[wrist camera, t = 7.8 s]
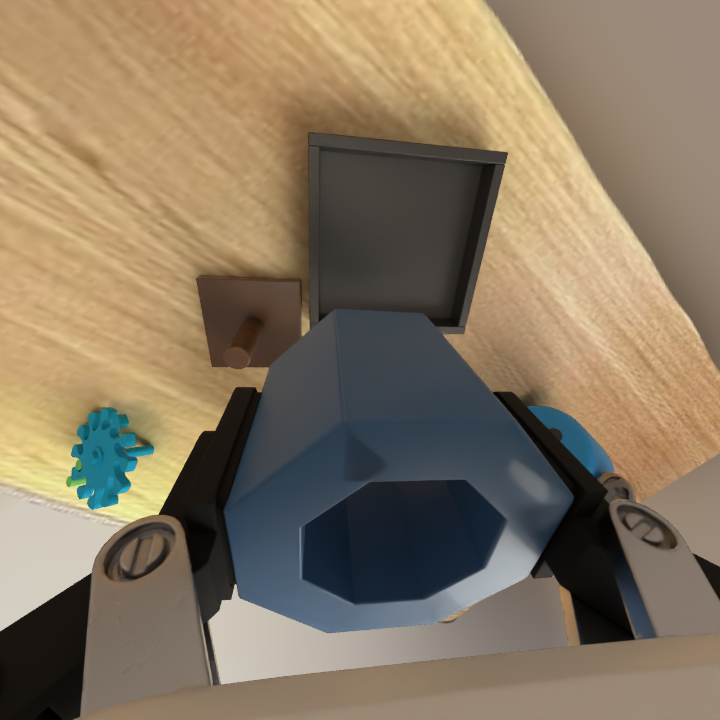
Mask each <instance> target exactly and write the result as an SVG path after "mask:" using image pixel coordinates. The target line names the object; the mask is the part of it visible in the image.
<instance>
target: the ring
mask: <svg viewBox="0 0 720 720" xmlns="http://www.w3.org/2000/svg"><path fill="white" fill-rule="evenodd" d="M573 499H574V497H573V494H572V493H571V491H570V490H569V489H568V488H567V486H566V485H565V484H564V482H563V481H562V480H561V478H560V477H559V476H558V474H557V473H556V472H555V470H554V469H553V468H552V466H551V465H550V464H549V462H548V461H547V460H546V459H545V457H544V456H543V455H542V453H541V452H540V451H539V449H538V448H537V447H536V445H535V444H534V443H533V441H532V440H531V439H530V437H529V436H528V435H527V433H526V432H525V431H524V429H523V428H522V427H521V426H520V424H519V423H518V422H517V420H516V419H515V418H514V417H513V416H512V415H511V413H510V412H509V411H508V410H507V409H506V408H505V406H504V405H503V404H502V403H501V402H500V401H499V399H498V398H497V397H496V396H495V395H494V394H493V393H492V391H491V390H490V389H489V388H488V387H487V386H486V384H485V383H484V382H483V381H482V380H481V379H480V377H479V376H478V375H477V374H476V373H475V372H474V371H473V369H472V368H471V367H470V366H469V365H468V364H467V362H466V361H465V360H464V359H463V358H462V357H461V356H460V354H459V353H458V352H457V351H456V350H455V349H454V347H453V346H452V345H451V344H450V343H449V342H448V340H447V339H446V338H445V337H444V336H443V335H442V334H441V332H440V331H439V330H438V329H437V328H436V327H435V325H434V324H433V323H432V322H431V321H430V320H429V318H428V317H427V316H426V315H424V314H423V313H411V312H391V311H371V310H351V309H335V310H333V311H332V312H330V313H329V314H328V315H327V316H326V317H325V318H324V319H322V320H321V321H320V322H319V323H318V324H317V325H315V326H314V327H313V328H312V329H311V330H310V331H309V332H307V333H306V334H305V335H304V336H303V337H302V338H300V339H299V340H298V341H297V342H296V343H295V344H294V345H292V346H291V347H290V348H289V349H288V350H287V351H285V352H284V353H283V354H282V355H281V356H280V357H279V358H277V359H276V360H275V361H274V362H273V363H272V364H271V365H270V368H269V371H268V374H267V377H266V380H265V383H264V386H263V390H262V395H261V398H260V401H259V404H258V407H257V410H256V413H255V416H254V420H253V423H252V426H251V429H250V432H249V435H248V438H247V442H246V445H245V448H244V451H243V454H242V457H241V460H240V464H239V467H238V470H237V473H236V476H235V479H234V482H233V486H232V489H231V492H230V495H229V498H228V500H227V502H226V505H225V508H224V511H223V513H224V518H225V524H226V529H227V535H228V540H229V546H230V551H231V557H232V562H233V568H234V574H235V579H236V585H237V589H238V595H239V597H240V598H241V599H243V600H246V601H248V602H251V603H254V604H256V605H258V606H261V607H263V608H266V609H268V610H271V611H273V612H276V613H278V614H281V615H283V616H286V617H288V618H291V619H293V620H296V621H298V622H301V623H303V624H306V625H309V626H311V627H313V628H316V629H318V630H321V631H323V632H326V633H336V632H347V631H358V630H370V629H382V628H393V627H404V626H415V625H426V624H434V623H436V622H438V621H440V620H442V619H444V618H446V617H448V616H450V615H452V614H454V613H456V612H458V611H460V610H462V609H464V608H466V607H468V606H470V605H472V604H474V603H476V602H478V601H480V600H482V599H485V598H487V597H488V596H491V595H492V594H494V593H497V592H498V591H500V590H502V589H505V588H507V587H509V586H511V585H513V584H515V583H517V582H519V581H521V580H523V579H524V578H526V577H527V576H528V575H529V574H530V572H531V571H532V569H533V567H534V566H535V564H536V562H537V561H538V559H539V557H540V556H541V554H542V552H543V551H544V549H545V547H546V546H547V544H548V542H549V541H550V539H551V537H552V536H553V534H554V532H555V531H556V529H557V527H558V526H559V524H560V522H561V521H562V519H563V517H564V516H565V514H566V512H567V511H568V509H569V508H570V506H571V504H572V503H573Z"/></svg>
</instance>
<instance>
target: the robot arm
mask: <svg viewBox="0 0 720 720" xmlns="http://www.w3.org/2000/svg"><path fill="white" fill-rule="evenodd" d="M493 394H494V395H495V396H496V397H497V398H498V399H499V401H500V402H501V403H502V404H503V405H504V406H505V408H506V409H507V410H508V411H509V412H510V413H511V415H512V416H513V417H514V418H515V419H516V420H517V422H518V423H519V424H520V426H521V427H522V428H523V429H524V431H525V432H526V433H527V435H528V436H529V437H530V439H531V440H532V441H533V443H534V444H535V445H536V447H537V448H538V449H539V451H540V452H541V453H542V455H543V456H544V457H545V459H546V460H547V461H548V462H549V464H550V465H551V466H552V468H553V469H554V470H555V472H556V473H557V474H558V476H559V477H560V478H561V480H562V481H563V482H564V484H565V485H566V486H567V488H568V489H569V490H570V491H571V493H572V494H573V497H574V499H573V503H572V504H571V506H570V508H569V509H568V511H567V512H566V514H565V516H564V517H563V519H562V521H561V522H560V524H559V526H558V527H557V529H556V531H555V532H554V534H553V536H552V537H551V539H550V541H549V542H548V544H547V546H546V547H545V549H544V551H543V552H542V554H541V556H540V557H539V559H538V561H537V562H536V564H535V566H534V567H533V569H532V571H531V572H530V573H531V575H532V577H533V578H548V577H552V576H553V574H554V576H555V577H556V579H557V581H558V582H559V591H560V596H561V602H562V608H563V614H564V620H565V626H566V631H567V638H568V644H569V646H568V647H558V648H548V649H539V650H528V651H518V652H509V653H499V654H489V655H479V656H470V657H461V658H451V659H441V660H431V661H421V662H412V663H403V664H394V665H385V666H375V667H366V668H357V669H348V670H339V671H330V672H321V673H311V674H302V675H292V676H284V677H276V678H268V679H260V680H253V681H245V682H237V683H230V684H222V685H221V682H220V677H219V672H218V667H217V661H216V656H215V651H214V645H213V640H212V635H211V630H210V625H209V619H211V618H212V617H213V616H214V615H215V614H216V613H217V612H218V611H219V609H220V605H221V601H222V600H231V598H232V593H233V589H234V585H235V584H236V579H235V574H234V568H233V562H232V557H231V551H230V546H229V540H228V535H227V529H226V524H225V518H224V513H223V511H224V508H225V505H226V502H227V500H228V498H229V495H230V492H231V489H232V486H233V482H234V479H235V476H236V473H237V470H238V467H239V464H240V460H241V457H242V454H243V451H244V448H245V445H246V442H247V438H248V435H249V432H250V429H251V426H252V423H253V420H254V416H255V413H256V410H257V407H258V404H259V401H260V398H261V395H262V392H257V390H256V388H254V387H236V388H235V390H234V392H233V394H232V396H231V399H230V401H229V403H228V405H227V407H226V409H225V411H224V413H223V416H222V418H221V420H220V422H219V424H218V426H217V428H216V431H204V432H202V434H201V435H200V436H199V438H198V440H197V442H196V444H195V446H194V448H193V450H192V452H191V454H190V455H189V457H188V459H187V461H186V463H185V465H184V467H183V469H182V471H181V473H180V475H179V476H178V478H177V480H176V482H175V484H174V486H173V488H172V490H171V492H170V494H169V496H168V497H167V499H166V501H165V503H164V505H163V507H162V509H161V511H160V513H159V515H152V516H148V517H145V518H141V519H138V520H136V521H134V522H132V523H130V524H128V525H126V526H125V527H123V528H122V529H121V530H119V531H118V532H117V533H115V534H114V535H113V536H112V537H111V538H110V539H109V540H108V541H107V542H106V543H105V544H104V545H103V547H102V548H101V550H100V551H99V553H98V555H97V556H96V558H95V562H94V565H93V569H92V573H91V574H89V575H88V576H86V577H84V578H83V579H81V580H80V581H78V582H77V583H75V584H74V585H72V586H70V587H69V588H67V589H66V590H64V591H63V592H61V593H60V594H58V595H56V596H55V597H54V598H52V599H50V600H49V601H47V602H46V603H44V604H42V605H41V606H39V607H38V608H36V609H35V610H33V611H31V612H30V613H28V614H27V615H25V616H24V617H22V618H21V619H19V620H17V621H16V622H14V623H13V624H11V625H10V626H8V627H7V628H5V629H4V630H2V631H0V720H720V567H719V566H717V565H715V564H713V563H711V562H709V561H707V560H705V559H703V558H701V557H699V556H697V555H695V554H693V553H692V552H691V550H690V549H689V547H688V545H687V543H686V542H685V540H684V538H683V537H682V536H681V534H680V533H679V531H678V530H677V529H676V528H675V527H674V526H673V525H672V524H671V523H670V522H669V521H668V520H666V519H665V518H664V517H662V516H661V515H660V514H658V513H657V512H655V511H653V510H652V509H650V508H648V507H646V506H644V505H642V504H640V503H637V502H635V501H631V500H626V499H616V500H614V501H612V502H611V503H610V504H609V503H608V502H607V501H606V500H605V496H606V495H607V493H608V492H609V491H608V490H607V489H606V488H605V487H604V486H603V485H602V484H601V483H600V482H599V481H598V480H597V479H596V478H595V477H594V476H593V475H592V474H591V473H590V472H589V470H588V469H587V468H586V467H585V466H584V465H583V464H582V463H581V462H580V461H579V460H578V459H577V458H576V457H575V456H574V455H573V454H572V453H571V452H570V451H569V450H568V449H567V448H566V447H565V446H564V445H563V444H562V443H561V442H560V441H559V439H558V438H557V437H556V436H555V435H554V434H553V433H552V432H551V431H550V430H549V429H548V428H547V427H546V426H545V425H544V424H543V423H542V422H541V421H540V420H539V419H538V418H537V417H536V416H535V415H534V414H533V413H532V412H531V411H530V410H529V409H528V407H527V406H526V405H525V404H524V403H523V402H522V401H521V400H520V399H519V398H518V397H517V396H516V395H515V394H514V393H512V392H493Z"/></svg>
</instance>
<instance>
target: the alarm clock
mask: <svg viewBox="0 0 720 720" xmlns="http://www.w3.org/2000/svg"><path fill="white" fill-rule="evenodd" d="M527 407H528V409H529V410H530V411H531V412H532V413H533V414H534V415H535V416H536V417H537V418H538V419H539V420H540V421H541V422H542V423H543V424H544V425H545V426H546V427H547V428H548V429H549V430H550V431H551V432H552V433H553V434H554V435H555V436H556V437H557V438H558V439H559V441H560V442H561V443H562V444H563V445H564V446H565V447H566V448H567V449H568V450H569V451H570V452H571V453H572V454H573V455H574V456H575V457H576V458H577V459H578V460H579V461H580V462H581V463H582V464H583V465H584V466H585V467H586V468H587V469H588V470H589V472H590V473H591V474H592V475H593V476H594V477H595V478H596V479H597V480H598V481H599V482H600V483H601V484H602V485H603V486H604V487H605V488H606V489H607V490H608V491H609V492H608V493H607V495H606V496H605V500H606V501H607V502H608V503H609V504H610V503H611V502H612V501H614V500H616V499H626V500H631V501H635V502H636V496H635V492H634V490H633V488H632V486H631V485H630V483H629V482H628V481H627V480H626V479H625V478H623V477H622V476H621V475H619V474H617V473H615V471H614V468H613V465H612V462H611V460H610V458H609V456H608V455H607V453H606V452H605V451H604V449H603V448H602V447H601V446H600V445H599V444H598V443H597V442H596V440H595V439H594V438H593V437H592V436H591V435H590V434H589V433H588V432H587V431H586V430H585V429H584V428H583V427H582V426H581V425H580V424H579V423H578V422H577V421H576V420H575V419H574V418H572V417H571V416H569V415H568V414H566V413H564V412H562V411H560V410H557V409H554V408H551V407H546V406H527Z"/></svg>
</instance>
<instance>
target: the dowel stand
mask: <svg viewBox="0 0 720 720" xmlns="http://www.w3.org/2000/svg"><path fill="white" fill-rule="evenodd" d="M196 280H197V285H198V291H199V297H200V302H201V308H202V313H203V319H204V325H205V330H206V336H207V342H208V347H209V353H210V359H211V364H212V367H231V368H233V369H243V368H245V367H270V365H271V364H272V363H273V362H274V361H275V360H276V359H277V358H279V357H280V356H281V355H282V354H283V353H284V352H285V351H287V350H288V349H289V348H290V347H291V346H292V345H294V344H295V343H296V342H297V341H298V340H299V339H300V338H302V327H301V281H300V280H291V279H268V278H245V277H222V276H199V277H197V278H196Z"/></svg>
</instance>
